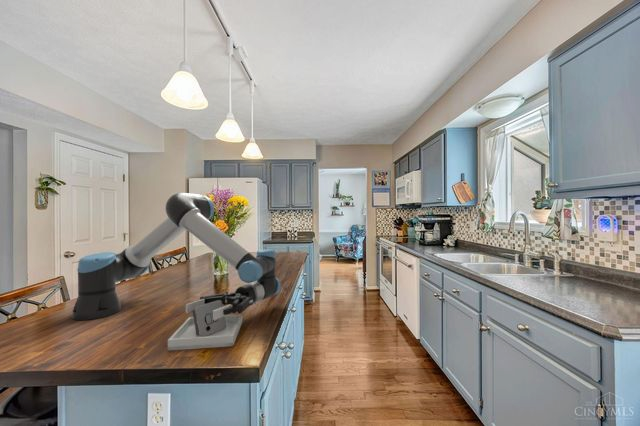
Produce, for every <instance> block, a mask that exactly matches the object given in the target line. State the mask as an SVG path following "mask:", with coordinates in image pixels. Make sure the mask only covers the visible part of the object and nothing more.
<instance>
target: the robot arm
mask: <svg viewBox="0 0 640 426" xmlns="http://www.w3.org/2000/svg"><path fill="white" fill-rule="evenodd" d="M213 202H214V201H212V199H211V198H210V197H209V196H206V195H204V194H201V193H200V194H199V193H198V194H197V193H189V192H177V193H175V194H173V195H171V196H170V197H168V199H167V201H166V204H165V213H166V215H167V218H166V219H165V220H163V221H162V222H161V223H160V224H158V226H156V227H154V229H153V230H152V231H151V232H149V233H148V234H147V235H145V237H143V239H141V240H140V241H139V242H137V243H136V244H135V245H134V244H133V245H131V244H130V245H128V246H127V247H126V248H124V250H122V251H121V252H119V253H115V252H112V251H111V252H109V251H108V252H107V251H105V252H99V253H92V254H88V255H85V256H83V257H81V258H80V259H79V261H78V263H77V264H78V265H77V299H76V301H75V304H74V305H73V309H72V312H71V318H72V319H73V320H75V321H86V320H94V319H100V318H104V317H109V316H111V315H114V314H116V313H119V312H120V311H121V309H122V306H121V305H122V304H121V301H120V298H119V297H118V294H117V292H116V283H118V282H122V281H125V280H129V279H134V278H139V276H142V275H144V274H145V273H146V271H148V269H149V268H150V267H149V266H150V264H151V261H152V258H154V256H156V255H157V254H158V253H160V252H161V251H162V250H163V249H164V248H166V246H168V245H169V244H170V243H172V242H173V241H174V240H175V239H176V238H177V237H178V236H180V235H181V234H183V233H184V232H185V231H187V232H189V233H190V234H192V236H194V237H195V238H196V239H198V240H199V241H201V243H202V244H204V245H205V246H206V247H207V248H209V249H210V250H211V251H213V253H215V254H217V255H218V257H220V258H221V259H223V260H224V261H225V262H226V263H227V264H229V265H230V266H231V267H232V268H234V269H235V270H236V271H237V274H238V277H239V280H240V281H242V282H244V283H247V284H244V285H241V286H239V287H237V288H236V290H235V291H234V292H230V293H228V292H227V291H225V292H222V293H217V294H210V295H206V296H201V297H199V299H198V300H196V301H195V300H194V301H192V302H189V303H185V313H186V314H189V313H191V312H192V310H195V308H196V307H198V306H201V305H204V304H208V303H211V302H214V301H217V300H221V301H222V306H223V307H221V308H219V309H216V310H213V320H216V319H219V318H221V317H224V316H226V315H232V314H236V313H237V314H238V315H239V314H243V312H245V311H246V310H247V308H249V307H250V306H252V305H256V304H257V303H258V302H261V301H263V300H266V299H270V298H272V297H274V296H275V295H277V294H279V293H280V291H281V289H282V283H281V281H280V278H278V277H276V269H277V268H276V261H277V257H276V251H275V250H274V249H258V250H257V251H256V256H254V255H253V254H252V253H250V252H249V251H248V250H246V249H245V248H244V247H243V246H242V245H241V244H239V243H238V242H236V241H235V240H234V239H233V238H232V237H230V236H229V235H228V234H226V232H224V231H223V230H221V229H220V228H219V227H218V226H216V225H215V224H214V223H213V222H211V221H210V219H211V218H212V217H213V216H214V213H215V206H214V203H213ZM192 313H193V312H192Z"/></svg>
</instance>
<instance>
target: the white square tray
mask: <svg viewBox="0 0 640 426" xmlns="http://www.w3.org/2000/svg"><path fill="white" fill-rule="evenodd" d="M224 317H225V322H226V328H224V329H222V330H220V331H217V332H215V333H212V334H210V335H208V336H205V337H200V336H199V335H196V330H195V324H194V318H193V316H189V317H188V318H187V319H186V320H185V321H184V322H183V324H181V325H180V326H179V328H178V329H177V330H176V331H175V332H174V333H173V334H172V335H171V336H169V338H168V339H167V351H168V352H169V351H182V350H196V349H198V350H199V349H212V348H224V347H225V348H227V347H234V345H235V342H236V340H237V337H238V335H239V333H240V329H241V327H242V325H243V313H240V314H239V313H238V314H229V315H226V316H224ZM196 320H197V319H196ZM197 324H198V322H197Z"/></svg>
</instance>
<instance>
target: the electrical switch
mask: <svg viewBox="0 0 640 426" xmlns="http://www.w3.org/2000/svg"><path fill="white" fill-rule="evenodd" d="M221 307H224V305H223V304H222V301H221V300H217V301H214V302H211V303H208V304H204V305H201V306H198V307H196V308H195V310H192V317H193V318H194V324H195V330H196V335H199V336H200V337H205V336H208V335H210V334H212V333H215V332H217V331H220V330H222V329H224V328H226V322H225V317H221V318H219V319H216V320H213V310H216V309H219V308H221ZM196 319H197V320H196ZM197 322H198V324H197Z"/></svg>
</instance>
